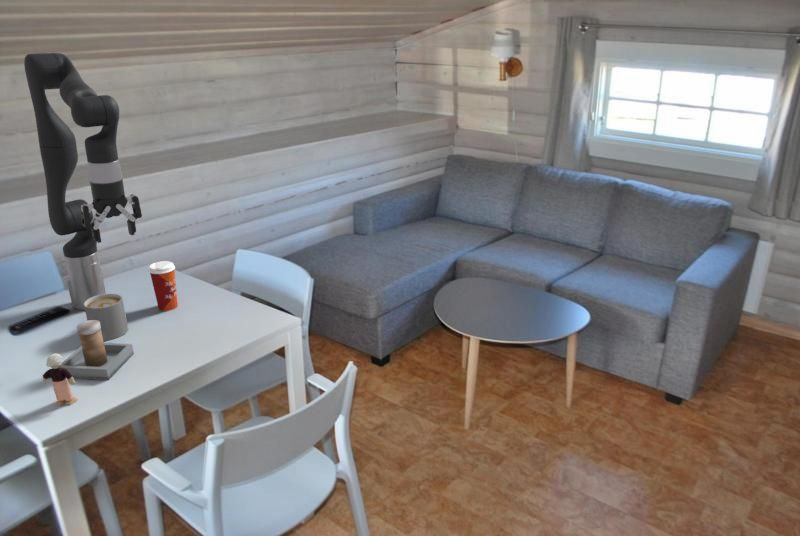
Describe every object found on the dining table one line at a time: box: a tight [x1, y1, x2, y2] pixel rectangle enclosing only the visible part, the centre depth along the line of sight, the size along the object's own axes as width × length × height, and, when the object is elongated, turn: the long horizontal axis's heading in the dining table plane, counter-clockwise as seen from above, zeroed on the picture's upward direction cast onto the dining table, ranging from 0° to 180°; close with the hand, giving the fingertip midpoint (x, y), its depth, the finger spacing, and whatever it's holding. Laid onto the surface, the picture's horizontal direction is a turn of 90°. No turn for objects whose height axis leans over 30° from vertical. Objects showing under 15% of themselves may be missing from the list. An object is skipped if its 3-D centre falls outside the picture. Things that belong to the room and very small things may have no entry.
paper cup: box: [148, 260, 178, 312], centre depth 196 cm, size 8×8×14 cm
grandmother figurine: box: [41, 352, 79, 406], centre depth 148 cm, size 8×4×13 cm, turn 98°
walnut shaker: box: [76, 320, 108, 367], centre depth 164 cm, size 5×5×11 cm
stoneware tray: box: [61, 342, 135, 381], centre depth 166 cm, size 13×13×3 cm
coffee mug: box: [84, 293, 129, 342], centre depth 183 cm, size 13×10×10 cm
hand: (115, 238), depth 167 cm, fingers open, 8 cm apart
